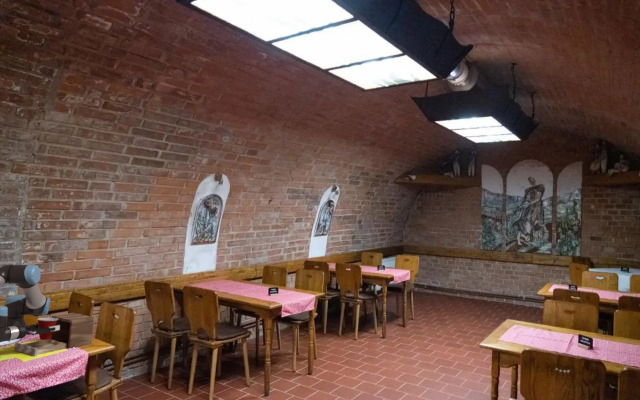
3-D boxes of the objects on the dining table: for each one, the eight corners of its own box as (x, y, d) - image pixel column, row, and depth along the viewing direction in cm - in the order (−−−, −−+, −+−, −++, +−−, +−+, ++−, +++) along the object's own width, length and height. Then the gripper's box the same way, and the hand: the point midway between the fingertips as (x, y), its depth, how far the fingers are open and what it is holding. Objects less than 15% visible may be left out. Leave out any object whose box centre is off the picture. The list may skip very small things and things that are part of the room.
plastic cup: (60, 337, 275) (62, 317, 276) (47, 341, 264) (50, 320, 265) (43, 335, 276) (45, 315, 277) (30, 340, 266) (32, 319, 266)
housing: (49, 343, 283) (52, 315, 284) (71, 339, 296) (73, 312, 297) (69, 349, 274) (72, 320, 275) (91, 344, 287) (93, 317, 288)
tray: (14, 350, 264) (15, 343, 264) (47, 343, 282) (47, 336, 282) (34, 356, 255) (35, 349, 256) (67, 349, 273) (68, 342, 273)
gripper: (3, 336, 259) (42, 329, 280) (26, 342, 250) (65, 335, 270) (5, 323, 260) (44, 317, 280) (27, 328, 250) (66, 322, 270)
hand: (54, 326), depth 275 cm, fingers closed on plastic cup, 9 cm apart
